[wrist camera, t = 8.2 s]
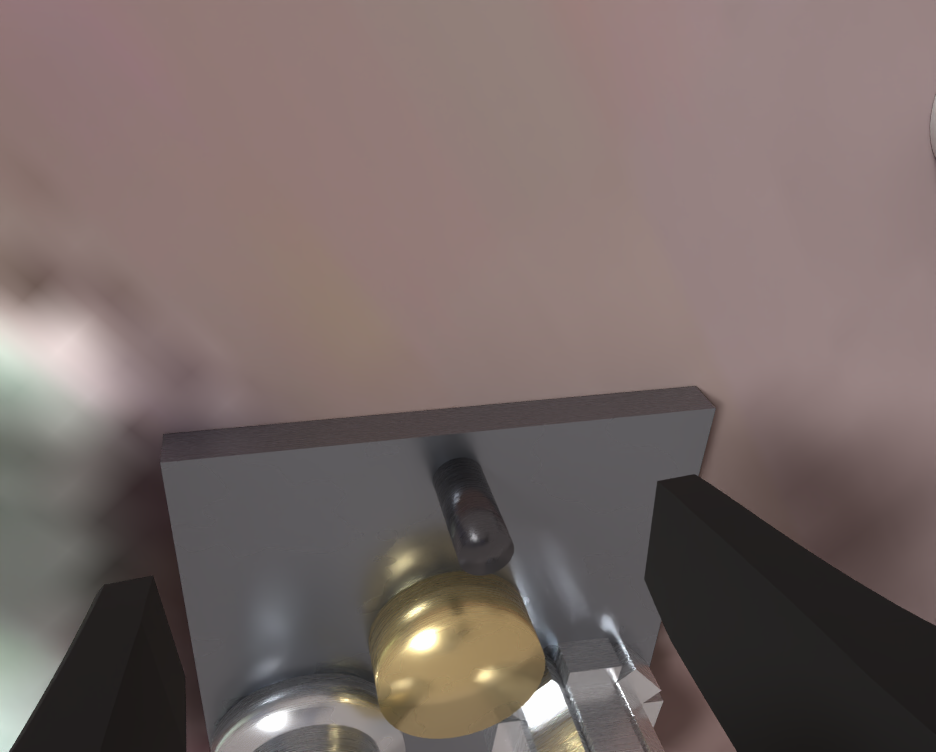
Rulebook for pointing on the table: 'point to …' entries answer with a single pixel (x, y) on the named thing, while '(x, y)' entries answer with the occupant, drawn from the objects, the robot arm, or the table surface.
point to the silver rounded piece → (309, 718)
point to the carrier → (424, 549)
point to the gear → (586, 704)
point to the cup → (933, 127)
